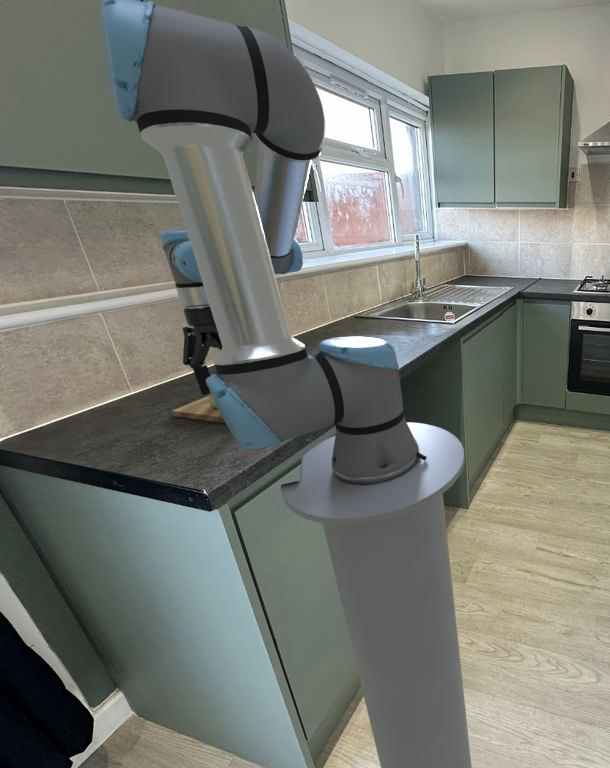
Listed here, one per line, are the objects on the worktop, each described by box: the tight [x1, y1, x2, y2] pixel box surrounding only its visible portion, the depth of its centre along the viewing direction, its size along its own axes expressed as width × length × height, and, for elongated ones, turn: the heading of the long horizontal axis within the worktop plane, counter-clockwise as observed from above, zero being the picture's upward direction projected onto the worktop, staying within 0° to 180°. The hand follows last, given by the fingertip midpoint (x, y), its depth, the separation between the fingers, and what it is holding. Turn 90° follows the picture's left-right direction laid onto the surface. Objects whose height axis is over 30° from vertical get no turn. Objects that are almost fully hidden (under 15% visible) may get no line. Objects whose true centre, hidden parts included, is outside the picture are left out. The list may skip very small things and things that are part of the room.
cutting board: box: [171, 395, 226, 424], centre depth 99 cm, size 20×14×2 cm
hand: (230, 395), depth 98 cm, fingers open, 13 cm apart
